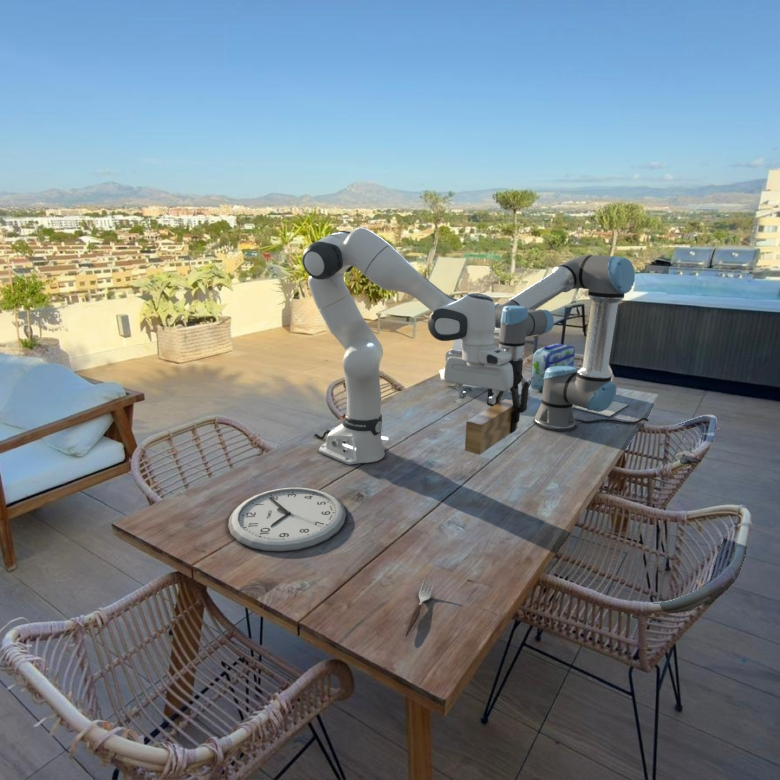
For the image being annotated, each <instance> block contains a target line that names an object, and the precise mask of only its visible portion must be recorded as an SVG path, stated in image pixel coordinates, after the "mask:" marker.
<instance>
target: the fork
mask: <svg viewBox="0 0 780 780" xmlns="http://www.w3.org/2000/svg"><path fill="white" fill-rule="evenodd" d="M425 579H426V577H424V578H423V581H422V584H421V587H420V590H419V592H418V598H419V599H418V600H419V603H418V605H417V606H416V608H415V609H414V611H413V612H412V615H411V617H410V620H409V623H408V627H407V630H406V632H405V637H407V636H408V635H409V633H410V631H411V629H412V628H413V626H414V625H415V623H416V622H417V620H418V617H419V615H420V611H421V608H422V605H423V603H424V602H426V601H429V600H430V599H431V597H432V596H433V595H432V594H433V590H434V585H435V579H433V582H432V580H429V578H427V579H426V582H425ZM428 581H429V584H428ZM431 583H432V585H431ZM424 584H425V585H424Z"/></svg>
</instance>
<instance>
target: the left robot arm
mask: <svg viewBox="0 0 780 780" xmlns="http://www.w3.org/2000/svg"><path fill="white" fill-rule="evenodd" d="M301 262H302V267H303V269H304V271H305V272H306V274H308V278H307V285H308V288H309V291H310V294H311V296H312V299H313V302H314V304H315V306H316V308H317V310H318V312H319V314H320V315H321V317H322V319H323V321H324V322H325V325H326V326H327V329H328V330H329V332H330V333H331V335H333V336H334V337H335V338H336V340H337V341H338V342H339V344H340V345H341V346H342V348H343V349H344V351H345V352H344V354H343V359H342V368H343V377H344V383H345V390H346V391H345V392H346V412H345V413H343V414H342V415H340V416H339V420H340V421H341V420H342V423H340V424H339V425H335V426H333V427H331V428H328V429H326V431H324V433H323V434H322V435H319V434H317V433H315V434H314V436H315V437H316V438H318V439H320V440H321V439H325V438H326V439H325V442H324V443H322V445H320V447H319V449H318V452H319V453H320V454H322V455H325V456H327V457H329V458H332V459H334V460H336V461H338V462H341V463H343V464H346V465H356V464H370V463H375V462H378V461H380V460H382V459H383V458H384V457H385V456H386V451H385V449H384V444H383V440H385V441H389V437H388V436H383V435H382V428H383V415H382V413H381V410H382V408H381V407H382V406H381V405H382V390H381V383H380V381H381V380H380V366H381V362H382V360H383V357H384V348H383V346H382V344H381V341H380V340H379V339H378V337H377V336H376V334H375V333H374V331H373V330H372V328H371V327H370V325H369V324H368V323H367V321H366V319H365V318H364V317H363V315H362V313H361V311H360V309H359V307H358V305H357V303H356V301H355V299H354V298H353V295H352V294H351V291H350V289H349V288H348V285H346V282H345V273H350V272H351V271H352V269H353V268H355V269H357V270H358V271H359V272H360V273H361V274H363V275H364V276H365V277H366V278H367V279H368V280H369V281H370V282H371V283H373V284H374V285H376V286H377V287H379V288H381V289H382V290H384V291H389V292H390V291H391V292H397V293H402V294H403V293H404V294H406V295H409V296H411V297H413V298H415V299H416V300H417V301H419V303H421V304H422V305H424V307H426V308H427V309H428V310H430V311H431V313H430V315H429V317H428V320H427V328H428V331H429V334H430V335H431V336H432V337H433V338H434V339H435V340H438V341H440V342H450V341H454V340H457V339H462V351H456V350H452V349H450V350H448V351H446V352H445V357H444V358H445V360H444V361H445V363H444V364H445V365H444V368H445V370H444V378H445V380H446V381H448V382H454V383H455V384H454V386H455V389H456V391H457V392H458V398H459V399H466V397H467V391H465V390H464V388H463V385H465V386H471V387H478V388H484V389H487V390H488V389H492V393H494V394H493V396H491V397H489V398H488V400H489V401H488V403H489V404H495V403H496V397H497V395H498V394H499V393H500V391H504V392H507V391H510V390H509V389H511V388H512V386H513V368H512V365H511V364H510V363H509V361H510V360H511V354H510V353H508V352H506V351H504V350H502V349H500V348H499V346H497V345H496V340H495V335H494V334H495V329H496V327H495V321H496V316H495V305H494V304H495V301H494V299H492V297H491V296H489V295H487V294H483V293H477V292H470V293H469V292H468V293H466V294H465V295H464V296H463V297H461V298H459V299H457V298H454V297H451V296H449V295H447V294H446V293H445V292H444V291H442V290H441V289H440V288H438V287H437V286H436V285H435V284H433V283H432V282H431V281H430V280H428V278H426V277H425V276H424V275H422V273H420V272H419V271H418V270H417V269H416V268H415V267H414V266H413V265H412V264H411V263H410V262H408V260H407V259H406V258H404V256H403V255H401V253H399V251H397V249H395V248H394V247H393V246H392V245H391V244H390V243H389V242H387V241H386V240H385V239H383V238H382V237H380V236H379V235H378V234H376V233H375V232H373V231H372V230H370V229H367V228H365V227H357V228H355V229H353V230H352V231H350V230H340V231H337V232H334V233H331V234H328V235H325V236H324V237H322V238H320V239H318V240H316V241H314V242H312V243H310V244H309V245H308V246H307V247H306V248H305V249H304V250H303V253H302V256H301ZM326 435H327V436H326Z"/></svg>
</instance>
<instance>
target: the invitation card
mask: <svg viewBox="0 0 780 780" xmlns="http://www.w3.org/2000/svg"><path fill="white" fill-rule="evenodd" d="M628 406H629V404H627V403H623V402H618V401H614V400H613V401H612V403H611V404H610V406H609V407H608V408H607V409H605V410H604V411H601V412H597V411H593V410H588V409H586V408H583V407H580V406H576V405H575V406H574V407H573V409H575V410H581V411H584V412H587V413H593V414H596V415H600V416H604V417H608V418H609V417H611V416H613V415H614V414H616V413H617V412H619V411H621V410H623V409H624V408H626V407H628Z"/></svg>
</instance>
